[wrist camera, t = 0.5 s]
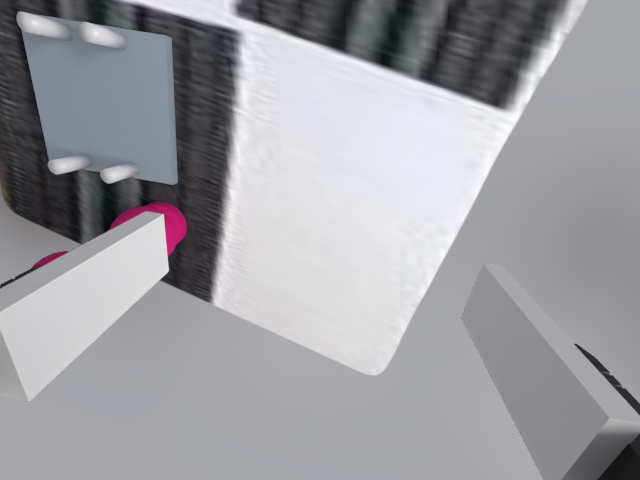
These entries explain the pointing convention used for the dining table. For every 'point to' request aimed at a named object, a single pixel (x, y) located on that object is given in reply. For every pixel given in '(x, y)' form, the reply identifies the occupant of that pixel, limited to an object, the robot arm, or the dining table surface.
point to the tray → (103, 98)
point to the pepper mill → (172, 215)
